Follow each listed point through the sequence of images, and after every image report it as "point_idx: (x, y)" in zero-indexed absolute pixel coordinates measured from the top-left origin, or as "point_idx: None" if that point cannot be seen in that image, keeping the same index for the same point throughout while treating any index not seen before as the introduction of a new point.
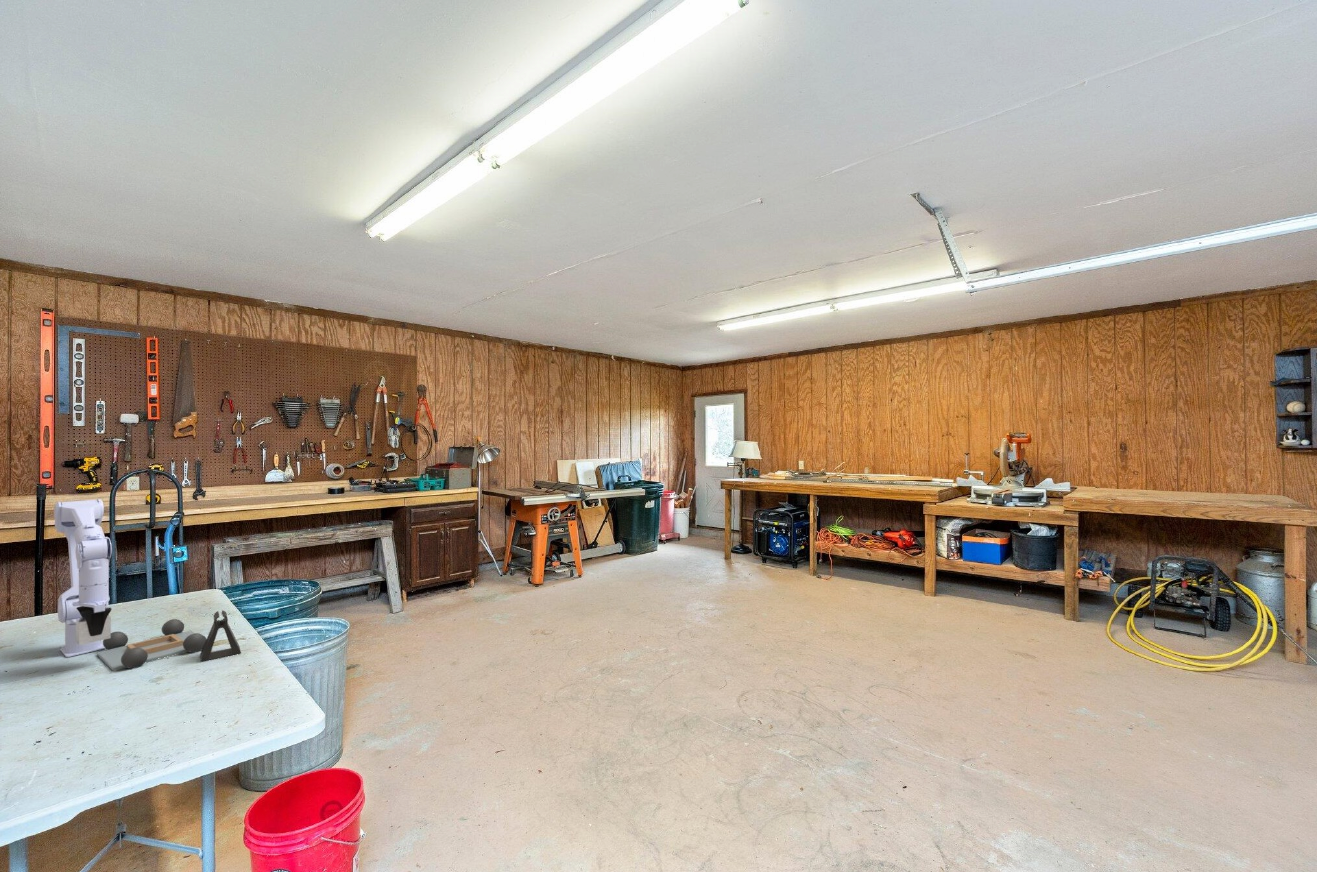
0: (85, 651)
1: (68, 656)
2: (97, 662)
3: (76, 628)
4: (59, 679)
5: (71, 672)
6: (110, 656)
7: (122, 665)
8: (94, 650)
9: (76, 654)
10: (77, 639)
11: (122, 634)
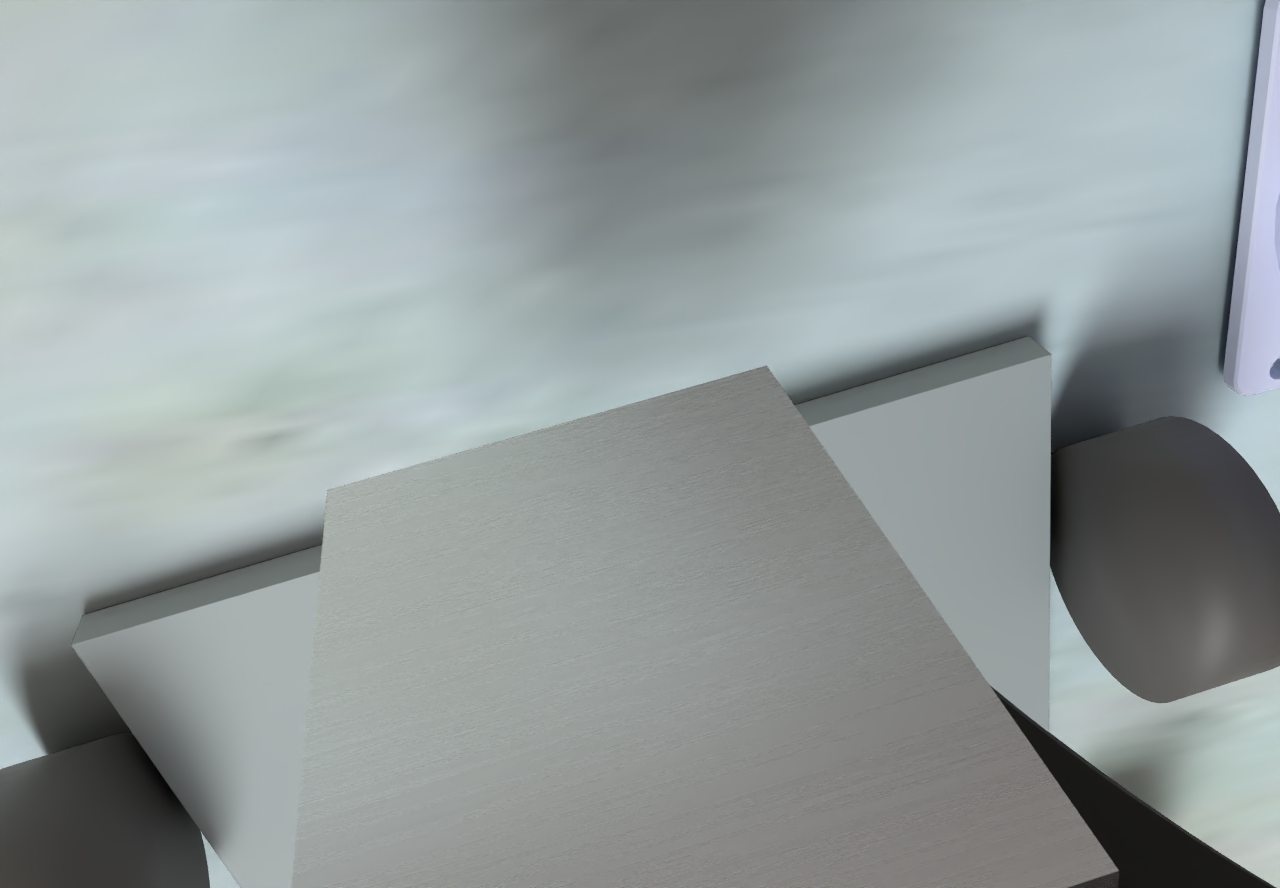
0: (1265, 201)
1: (1267, 2)
2: (669, 387)
3: (804, 626)
4: (83, 15)
5: (394, 139)
6: None
7: (134, 716)
8: (1237, 289)
9: (1259, 99)
10: (574, 473)
11: (1159, 687)
